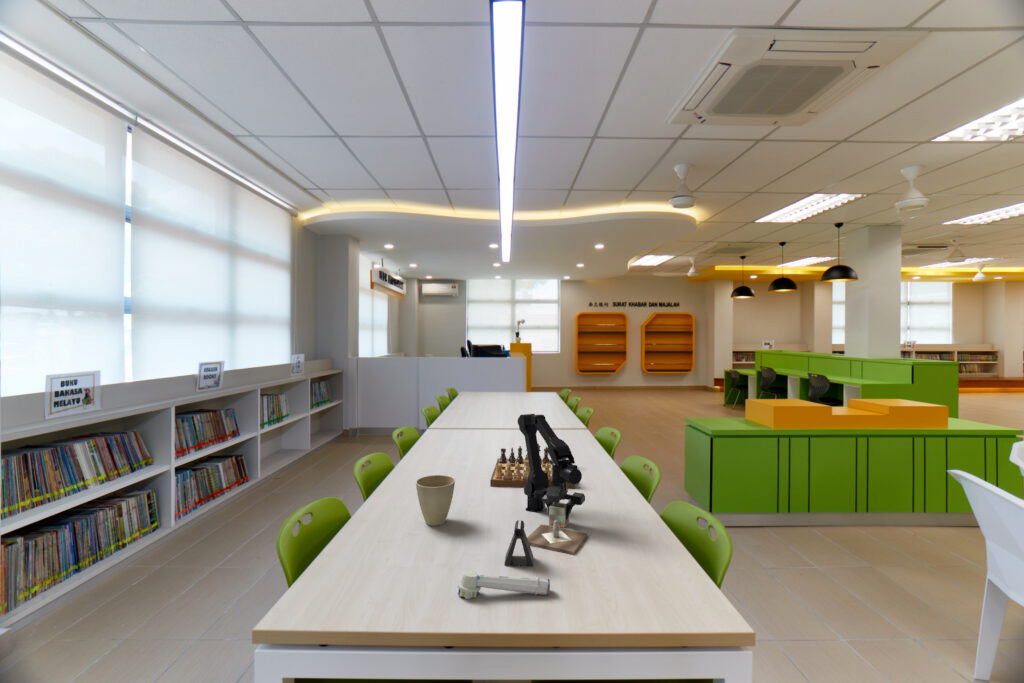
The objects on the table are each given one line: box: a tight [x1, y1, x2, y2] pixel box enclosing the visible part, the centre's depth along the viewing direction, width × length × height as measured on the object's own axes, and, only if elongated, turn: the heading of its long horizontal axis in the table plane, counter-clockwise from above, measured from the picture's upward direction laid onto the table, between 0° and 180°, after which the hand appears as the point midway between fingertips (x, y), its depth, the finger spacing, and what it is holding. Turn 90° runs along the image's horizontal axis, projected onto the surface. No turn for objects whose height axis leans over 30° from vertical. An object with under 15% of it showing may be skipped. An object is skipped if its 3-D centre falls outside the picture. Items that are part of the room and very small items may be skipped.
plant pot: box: [415, 474, 456, 527], centre depth 177 cm, size 15×15×16 cm
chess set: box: [489, 443, 576, 490], centre depth 239 cm, size 40×40×15 cm
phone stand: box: [504, 519, 535, 567], centre depth 146 cm, size 9×6×12 cm, turn 86°
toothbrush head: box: [457, 570, 551, 600], centre depth 127 cm, size 5×7×25 cm
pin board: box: [527, 520, 589, 556], centre depth 162 cm, size 18×16×7 cm
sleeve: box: [548, 501, 570, 529], centre depth 176 cm, size 6×6×7 cm
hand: (559, 518), depth 176 cm, fingers closed on sleeve, 6 cm apart
